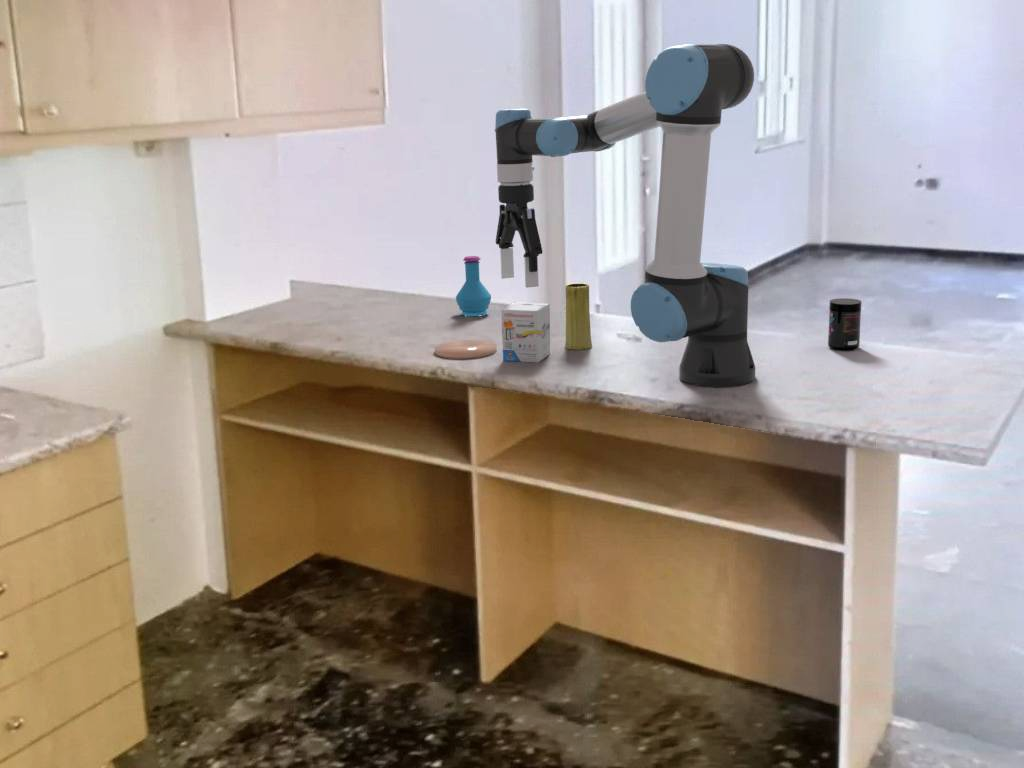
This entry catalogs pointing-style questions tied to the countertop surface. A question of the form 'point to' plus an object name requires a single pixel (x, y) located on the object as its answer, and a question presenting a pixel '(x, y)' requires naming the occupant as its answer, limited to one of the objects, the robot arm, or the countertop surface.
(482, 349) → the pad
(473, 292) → the perfume bottle
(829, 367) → the countertop surface
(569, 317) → the vase
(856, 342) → the supplement container
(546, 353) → the ink box
